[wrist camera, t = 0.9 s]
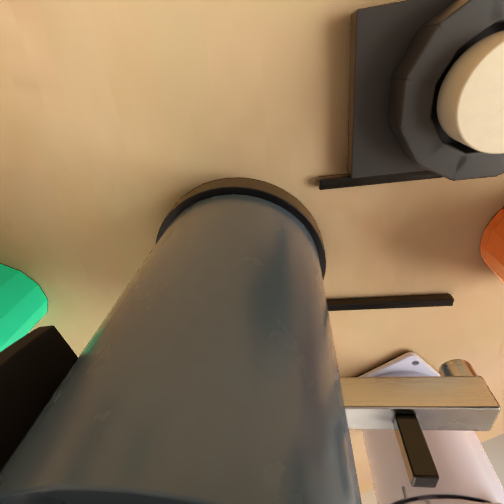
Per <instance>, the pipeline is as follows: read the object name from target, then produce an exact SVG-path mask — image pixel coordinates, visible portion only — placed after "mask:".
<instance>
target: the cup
mask: <svg viewBox="0 0 504 504" xmlns="http://www.w3.org/2000/svg"><path fill="white" fill-rule="evenodd" d="M480 251H481V256H482V258H483V261H484V262H485V263H486V265H487V266H488V267H489V268H490V269H491V270H492V271H493V272H494V273H495V274H496V276H497V277H498V278H499V279H500V280H501V281H502V282H503V283H504V208H503V209H501V210H500V211H499V212H498V213H497V214H496V215H495V216H494V218H493V219H492V220H491V221H490V223H489V224H488V226H487V227H486V229H485V231H484V233H483V236H482V239H481V245H480Z"/></svg>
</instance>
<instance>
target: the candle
mask: <svg viewBox="0 0 504 504" xmlns="http://www.w3.org/2000/svg"><path fill="white" fill-rule="evenodd" d="M47 303H48V299H47V298H46V296H45V295H44V293H43V291H42V290H41V288H40V287H39V285H38V284H37V283H36V282H34V281H33V280H32V279H30V278H29V277H28V276H26V275H25V274H24V273H22V272H21V271H19V270H16V269H13V268H10V267H8V266H5V265H2V264H0V352H1V351H3V350H4V349H5V348H7V347H8V346H10V345H11V344H13V343H14V342H16V341H17V340H19V339H20V338H22V337H24V336H25V335H26V334H27V333H28V332H29V331H30V330H31V329H32V328H33V327H34V326H35V324H36V323H37V322H38V321H39V320H40V319H41V318H42V317H43V316H44V315H45V314H46V313H47Z"/></svg>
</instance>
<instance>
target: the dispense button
mask: <svg viewBox="0 0 504 504" xmlns="http://www.w3.org/2000/svg"><path fill="white" fill-rule="evenodd" d="M437 116H438V120H439V123H440V125H441V127H442V129H443V130H444V132H445V133H446V134H447V135H448V136H449V137H451V138H452V139H454V140H456V141H458V142H460V143H462V144H464V145H466V146H468V147H470V148H472V149H474V150H477V151H480V152H483V153H489V154H502V153H504V30H503V31H499V32H496V33H493V34H491V35H489V36H487V37H485V38H483V39H481V40H480V41H478V42H476V43H475V44H474V45H472V46H471V47H470V48H468V49H467V50H466V51H465V52H464V53H463V54H462V55H461V56H460V57H459V58H458V59H457V60H456V62H455V63H454V64H453V65H452V67H451V68H450V70H449V71H448V73H447V75H446V76H445V78H444V80H443V82H442V85H441V87H440V90H439V94H438V99H437Z"/></svg>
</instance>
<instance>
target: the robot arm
mask: <svg viewBox="0 0 504 504" xmlns="http://www.w3.org/2000/svg"><path fill="white" fill-rule="evenodd" d="M77 359H78V357H77V356H76V354H75V353H74V352H73V350H72V349H71V348H70V346H69V345H68V344H67V342H66V341H65V340H64V338H63V337H62V336H61V334H60V333H59V332H58V331H57V329H56V328H55V327H54V326H45V327H39V328H37V329H35V330H33V331H32V332H30V333H28V334H27V335H25V336H24V337H22V338H20V339H19V340H17V341H16V342H14V343H13V344H11V345H10V346H8V347H7V348H5V349H4V350H3V351H1V352H0V472H1V470H2V469H3V467H4V466H5V464H6V463H7V461H8V460H9V458H10V457H11V455H12V454H13V453H14V451H15V450H16V448H17V447H18V445H19V444H20V442H21V441H22V439H23V438H24V437H25V435H26V434H27V432H28V431H29V429H30V428H31V426H32V425H33V423H34V422H35V420H36V419H37V418H38V416H39V415H40V413H41V412H42V410H43V409H44V407H45V406H46V404H47V403H48V401H49V400H50V399H51V397H52V396H53V394H54V393H55V391H56V390H57V388H58V387H59V385H60V384H61V383H62V381H63V380H64V378H65V377H66V375H67V374H68V372H69V371H70V369H71V368H72V366H73V365H74V364H75V362H76V361H77ZM419 376H441V375H440V374H439V373H438V372H437V371H436V370H434V369H433V368H432V367H431V366H430V365H428V364H427V363H426V362H425V361H424V360H423V359H421V358H420V357H419V356H418V355H417V354H416V353H414V352H408V353H405V354H403V355H401V356H399V357H397V358H395V359H393V360H391V361H389V362H387V363H385V364H383V365H381V366H379V367H377V368H375V369H373V370H371V371H369V372H367V373H365V374H363V375H361V376H359V377H419ZM422 431H423V434H424V436H425V439H426V442H427V445H428V447H429V450H430V453H431V455H432V458H433V461H434V463H435V466H436V469H437V471H438V474H439V480H438V483H437V485H436V487H435V488H427V487H412V486H411V484H410V481H409V478H408V475H407V471H406V468H405V464H404V461H403V458H402V454H401V451H400V448H399V444H398V441H397V437H396V434H395V431H394V430H382V429H362V432H363V437H364V442H365V447H366V452H367V456H368V461H369V466H370V471H371V475H372V480H373V485H374V490H375V494H376V499H377V504H504V490H503V487H502V485H501V483H500V481H499V479H498V477H497V475H496V473H495V471H494V469H493V467H492V465H491V463H490V461H489V459H488V457H487V455H486V453H485V451H484V449H483V447H482V445H481V443H480V441H479V439H478V437H477V435H476V433H475V431H448V430H422Z"/></svg>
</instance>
